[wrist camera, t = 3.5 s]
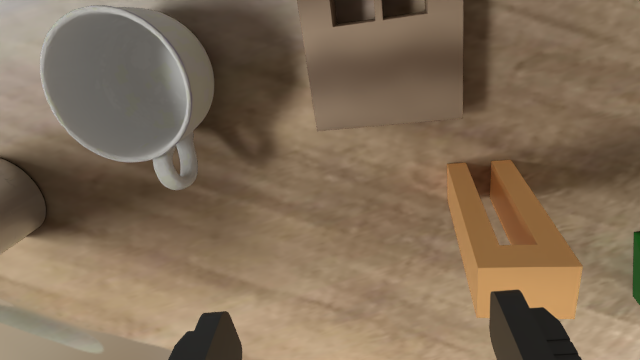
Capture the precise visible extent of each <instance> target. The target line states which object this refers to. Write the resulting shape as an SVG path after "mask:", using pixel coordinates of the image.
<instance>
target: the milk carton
mask: <svg viewBox="0 0 640 360" xmlns="http://www.w3.org/2000/svg"><path fill="white" fill-rule="evenodd" d="M633 297H634V298H635V299H636V301H637V302H638V304H639V305H640V232H634V255H633Z"/></svg>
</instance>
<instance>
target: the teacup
mask: <svg viewBox="0 0 640 360" xmlns="http://www.w3.org/2000/svg"><path fill="white" fill-rule="evenodd" d="M40 76H41V81H42V86H43V89H44V94H45V96H46V99H47V102H48V103H49V105H50V108H51V110H52V112H53V113H54V115H55V117H56V118H57V119H58V121H59V122H60V124H61V125H62V126H63V127H64V128H65V129H66V130H67V132H68V133H69V134H70V135H71V136H72V137H73V138H74V139H75V140H76V141H78V142H79V143H80V144H81V145H83V146H84V147H85V148H87V149H89V150H91V151H92V152H94V153H96V154H98V155H100V156H102V157H105V158H107V159H111V160H114V161H120V162H142V161H148V160H152V159H153V165H154V169H155V173H156V175H157V177H158V179H159V180H160V182H161V183H162V184H163V185H164V186H165V187H167V188H169V189H172V190H181V189H184V188H186V187H189V186H190V185H192V183H193V182H194V181H195V179H196V177H197V173H198V161H197V156H196V151H195V147H194V142H193V137H194V134H193V130H194V129H195V128H196V127H197V126H198V125H199V124H200V123H201V122H202V121H203V119H204V118H205V116H206V115H207V113H208V111H209V109H210V107H211V104H212V100H213V95H214V74H213V69H212V66H211V63H210V60H209V57H208V55H207V53H206V51H205V49H204V48H203V46H202V44H201V43H200V42H199V40H198V39H197V38H196V37H195V35H194V34H193V33H192V32H191V31H190V30H189V29H188V28H186V27H185V26H184V25H183V24H181V23H180V22H178V21H177V20H175V19H173V18H172V17H170V16H168V15H165V14H163V13H160V12H157V11H153V10H149V9H143V8H130V7H112V6H105V5H102V6H98V5H96V6H88V7H83V8H78V9H75V10H73V11H70V12H69V13H67V14H66V15H64V16H63V17H61V18H60V19H59V20H58V21H57V22H56V23H55V24H54V25H53V27H52V28H51V29H50V31H49V32H48V34H47V36H46V38H45V40H44V44H43V46H42V51H41V58H40ZM176 146H177V150H178V154H179V158H180V165H181V169H180V175H179V174H178V173H177V171H176V170H175V168H174V165H173V161H172V157H173V152H174V150H175V148H176Z"/></svg>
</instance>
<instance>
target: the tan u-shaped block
mask: <svg viewBox="0 0 640 360" xmlns="http://www.w3.org/2000/svg"><path fill="white" fill-rule="evenodd" d="M447 197H448V204H449V208H450V212H451V216H452V220H453V224H454V228H455V232H456V236H457V240H458V244H459V248H460V252H461V256H462V260H463V264H464V268H465V272H466V276H467V280H468V284H469V288H470V292H471V296H472V300H473V304H474V309H475V313H476V317H477V318H490V294H491V292H492V291H505V290H520V291H521V292H522V294H523V296H524V298H525V300H526V302H527V304H528V306H529V308H539V307H544V308H545V309H546V310H547V311H548V312H550V313H551V314H552V315H553V316H554V317H555V318H556V319H575V313H576V306H577V300H578V293H579V287H580V281H581V274H582V268H583V266H582V265H581V263H580V262H579V260H578V259H577V257H576V256H575V254H574V253H573V251H572V250H571V248H570V247H569V245H568V244H567V242H566V241H565V240H564V238H563V237H562V235H561V234H560V232H559V231H558V229H557V228H556V226H555V225H554V223H553V222H552V220H551V219H550V217H549V216H548V214H547V213H546V211H545V210H544V208H543V207H542V205H541V204H540V202H539V201H538V199H537V198H536V196H535V195H534V193H533V192H532V191H531V189H530V188H529V186H528V185H527V183H526V182H525V180H524V179H523V177H522V176H521V174H520V173H519V171H518V170H517V168H516V167H515V165H514V164H513V162H512V161H511V160H500V161H491V182H490V200H491V202H492V204H493V206H494V209H495V211H496V213H497V215H498V217H499V220H500V222H501V224H502V226H503V229H504V231H505V233H506V235H507V237H508V240H509V242H510V244H511V245H499V243H498V241H497V238H496V236H495V234H494V231H493V229H492V226H491V224H490V221H489V219H488V216H487V214H486V211H485V209H484V206H483V204H482V201H481V199H480V197H479V194H478V192H477V189H476V187H475V184H474V182H473V179H472V177H471V174H470V172H469V169H468V167H467V165H466V163H454V164H447Z"/></svg>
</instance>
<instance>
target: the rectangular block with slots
mask: <svg viewBox="0 0 640 360" xmlns="http://www.w3.org/2000/svg"><path fill="white" fill-rule="evenodd" d="M297 4H298V10H299V17H300V23H301V30H302V36H303V43H304V49H305V56H306V62H307V68H308V75H309V81H310V88H311V94H312V101H313V107H314V114H315V120H316V127H317V131H325V130H337V129H348V128H360V127H371V126H382V125H394V124H405V123H417V122H428V121H440V120H451V119H462V118H463V0H425V12H419V13H412V14H405V15H398V16H391V17H384V15H383V2H382V0H374V9H375V19H371V20H364V21H357V22H350V23H343V24H337V18H336V10H335V2H334V0H297Z"/></svg>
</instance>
